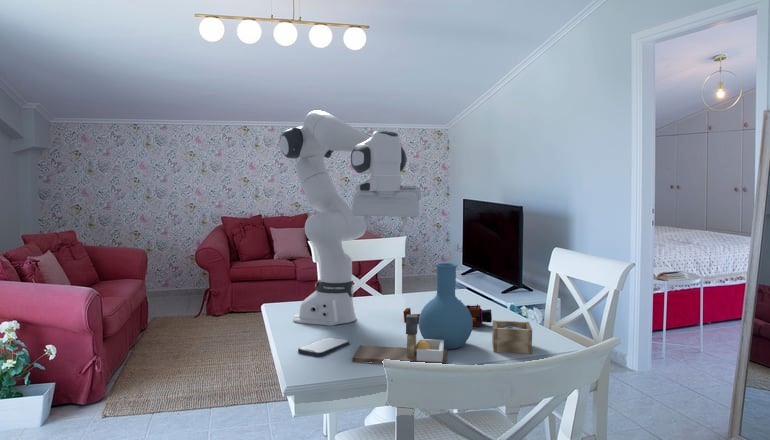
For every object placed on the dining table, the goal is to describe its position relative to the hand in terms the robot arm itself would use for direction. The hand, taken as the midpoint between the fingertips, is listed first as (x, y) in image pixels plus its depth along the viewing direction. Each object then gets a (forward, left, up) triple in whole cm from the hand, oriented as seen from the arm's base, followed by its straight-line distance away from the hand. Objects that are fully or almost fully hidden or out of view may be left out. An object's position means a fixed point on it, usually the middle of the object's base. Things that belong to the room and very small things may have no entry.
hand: (386, 231), depth 175 cm
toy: (+18, +32, -36) cm, 51 cm away
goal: (+14, -10, -34) cm, 38 cm away
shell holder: (+38, +5, -35) cm, 52 cm away
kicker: (+9, -10, -34) cm, 36 cm away
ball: (+12, -10, -32) cm, 36 cm away
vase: (+18, +5, -35) cm, 40 cm away
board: (+6, -10, -35) cm, 37 cm away
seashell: (+38, +5, -35) cm, 52 cm away
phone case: (-18, -5, -36) cm, 40 cm away
